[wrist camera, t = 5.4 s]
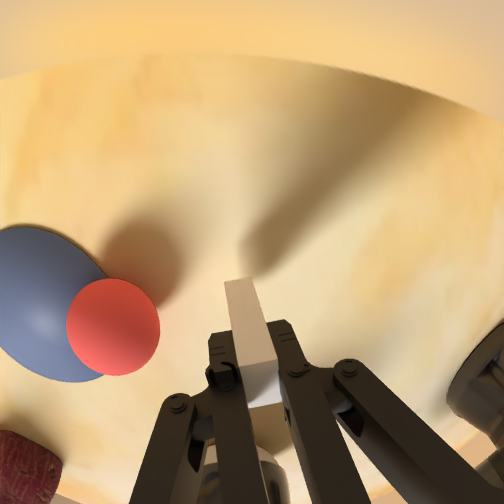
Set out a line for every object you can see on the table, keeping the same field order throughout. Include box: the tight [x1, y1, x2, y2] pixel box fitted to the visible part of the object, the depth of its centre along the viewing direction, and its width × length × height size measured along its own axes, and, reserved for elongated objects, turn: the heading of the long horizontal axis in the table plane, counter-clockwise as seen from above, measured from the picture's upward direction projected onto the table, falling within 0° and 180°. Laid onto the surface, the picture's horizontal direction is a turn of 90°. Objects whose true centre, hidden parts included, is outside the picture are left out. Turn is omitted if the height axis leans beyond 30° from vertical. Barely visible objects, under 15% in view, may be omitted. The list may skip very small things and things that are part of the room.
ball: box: [66, 279, 160, 376], centre depth 16 cm, size 6×6×6 cm
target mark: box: [0, 227, 108, 382], centre depth 18 cm, size 13×13×1 cm
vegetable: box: [0, 431, 62, 504], centre depth 19 cm, size 10×10×15 cm
